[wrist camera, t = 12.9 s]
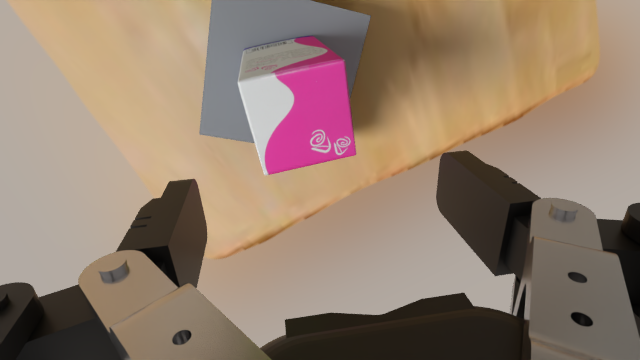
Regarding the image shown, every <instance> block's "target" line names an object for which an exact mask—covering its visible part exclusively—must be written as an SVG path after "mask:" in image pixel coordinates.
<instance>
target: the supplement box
mask: <svg viewBox="0 0 640 360" xmlns="http://www.w3.org/2000/svg"><path fill="white" fill-rule="evenodd" d="M238 87H239V91H240V94H241V98H242V101H243V105H244V108H245V112H246V115H247V118H248V122H249V125H250V129H251V132H252V135H253V139H254V142H255V145H256V149H257V152H258V155H259V159H260V162H261V165H262V168H263V172H264V175H270V174H275V173H279V172H283V171H287V170H292V169H296V168H301V167H305V166H310V165H314V164H318V163H323V162H327V161H332V160H336V159H340V158H345V157H349V156H354V155H356V149H355V141H354V132H353V124H352V115H351V107H350V98H349V89H348V81H347V72H346V64H345V60H344V59H342V58H341V57H340V56H338V55H337V54H336V53H334V52H333V51H332V50H330V49H329V48H328V47H327V46H326V45H324V44H323V43H321V42H320V41H319V40H318V39H316V38H315V37H314V36H303V37H298V38H292V39H287V40H282V41H277V42H272V43H267V44H263V45H258V46H254V47H249V48H245V49H244V50H243V55H242V60H241V66H240V72H239V77H238Z"/></svg>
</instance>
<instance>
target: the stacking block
mask: <svg viewBox="0 0 640 360" xmlns="http://www.w3.org/2000/svg"><path fill="white" fill-rule="evenodd" d="M370 18H371V16H370V15H366V14H362V13H358V12H354V11H351V10H347V9H343V8H339V7H335V6H331V5H327V4H323V3H319V2H315V1H311V0H212V4H211V15H210V26H209V36H208V47H207V58H206V69H205V80H204V91H203V101H202V112H201V123H200V135H206V136H213V137H219V138H225V139H232V140H238V141H245V142H251V143H255V142H254V139H253V135H252V132H251V129H250V125H249V122H248V118H247V115H246V112H245V108H244V105H243V101H242V98H241V94H240V91H239V87H238V77H239V72H240V66H241V60H242V55H243V50H244V49H245V48H249V47H254V46H258V45H263V44H267V43H272V42H277V41H282V40H287V39H292V38H298V37H303V36H314V37H315V38H316V39H318V40H319V41H320V42H321V43H323V44H324V45H326V46H327V47H328V48H329V49H330V50H332V51H333V52H334V53H336V54H337V55H338V56H340V57H341V58H342V59H344V60H345V64H346V72H347V81H348V89H349V98H350V97H351V93H352V89H353V85H354V81H355V77H356V73H357V69H358V65H359V61H360V57H361V53H362V49H363V45H364V41H365V37H366V33H367V30H368V26H369V22H370Z"/></svg>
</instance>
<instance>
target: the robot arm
mask: <svg viewBox="0 0 640 360" xmlns="http://www.w3.org/2000/svg"><path fill="white" fill-rule="evenodd" d="M436 199H437V205H438V208H439V210H440V212H441V213H442V215H443V216H444V217H445V218H446V219H447V221H448V222H449V223H450V224H451V225H452V226H453V228H454V229H455V230H456V231H457V232H458V233H459V234H460V236H461V237H462V238H463V239H464V240H465V241H466V243H467V244H468V245H469V246H470V247H471V249H473V251H474V252H475V253H476V254H477V256H478V257H479V258H480V259H481V260H482V261H483V262H484V264H485V265H486V266H487V267H488V268H489V269H490V271H491V272H492V273H493V274H494V275H495V276H498V275H505V274H512V273H514V274H515V280H514V284H513V289H512V298H511V306H510V314H509V313H505V312H502V311H499V310H494V309H490V308H484V307H477V306H473V305H472V303H471V302H470V301H469V299H468V298H467V297H466V295H465V293H459V294H452V295H446V296H439V297H433V298H425V299H421V300H418V301H416V302H413V303H411V304H408V305H406V306H403V307H400V308H398V309H395V310H393V311H390V312H388V313H386V314H382V315H362V314H344V313H326V314H319V315H313V316H306V317H300V318H293V319H286V320H285V325H286V326H285V327H286V335H284V336H281V337H279V338H277V339H275V340H273V341H271V342H269V343H267V344H266V345H264V346H263V347H261V348H259V347H258V346H256V344H255V343H253V342H252V341H251V340H250V339H249V338H248V337H247V336H246V335H245V334H244V333H243V332H242V331H241V330H240V329H239V328H238V327H236V326H235V325H234V324H233V323H232V322H231V321H230V320H229V319H228V318H227V317H226V316H225V315H224V314H223V313H222V312H221V311H219V310H218V309H217V308H216V307H215V306H214V305H213V304H212V303H211V302H210V301H209V300H208V299H207V298H206V297H205V296H204V295H203V294H201V293H200V292H199V291H198V290H197V289H196V288H197V283H198V279H199V274H200V269H201V265H202V260H203V256H204V251H205V247H206V242H207V226H206V220H205V216H204V211H203V207H202V202H201V198H200V193H199V189H198V185H197V182H196V180H195V179H188V180H179V181H170V182H169V183H168V185H167V187H166V189H165V191H164V193H163V195H162V197H161V198H155V199H152V200H151V201H150V202H148V203H147V204H146V205H145V206H143V207H142V208H141V209H140V211H139V212H138V214H137V216H136V218H135V220H134V221H133V223H132V225H131V229H129V230H128V232H127V233H126V235H125V237H124V239H123V240H122V242H121V244H120V246H119V247H118V249H117V251H116V252H114V253H112V254H109V255H106V256H104V257H102V258H99V259H98V260H96V261H94V262H93V263H91V264H90V265H89V266H88V267H86V268H85V269H84V270H83V272H82V273H81V275H80V276H79V279H78V283H79V284H78V285H75V286H73V287H70V288H67V289H64V290H61V291H58V292H54V293H51V294H48V295H45V296H42V297H39V298H38V296H37V294H36V292H35V290H34V288H33V287H32V286H31V285H30V284H27V283H10V284H5V285H1V286H0V360H640V203H635V204H632V205H630V206H629V207H628V209H627V212H626V214H625V217H624V219H623V220H606V219H596V216H595V215H594V213H593V212H592V211H591V210H590V209H588V208H587V207H585V206H583V205H581V204H578V203H576V202H573V201H569V200H565V199H558V198H543V199H541V198H540V197H538V196H537V195H535V194H534V193H533V192H531V191H530V190H528V189H527V188H525V187H524V186H523V185H521V184H520V183H517V181H515V180H514V179H513V178H511V177H509V176H508V175H507V174H505V173H504V172H502V171H501V170H499V169H498V168H496V167H493V166H490V165H488V164H485V163H484V162H482V161H481V160H480V159H478V158H477V157H476V156H474V155H473V154H471V153H470V152H469V151H457V152H447V153H443V154H442V156H441V159H440V166H439V175H438V186H437V195H436Z"/></svg>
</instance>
